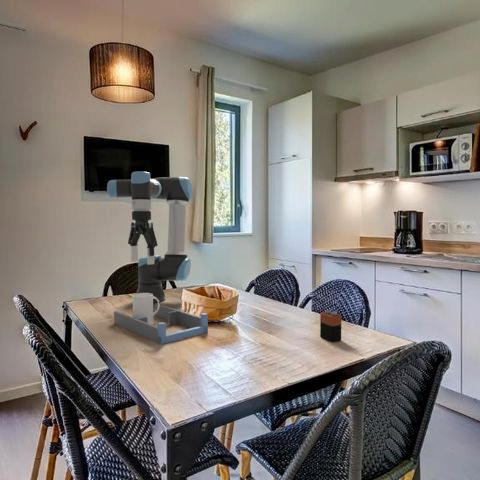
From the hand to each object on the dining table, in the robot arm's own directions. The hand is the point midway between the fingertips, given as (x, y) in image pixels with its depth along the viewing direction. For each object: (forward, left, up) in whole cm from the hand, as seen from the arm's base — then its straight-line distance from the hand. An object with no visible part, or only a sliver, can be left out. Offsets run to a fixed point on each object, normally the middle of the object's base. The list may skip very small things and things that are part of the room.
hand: (142, 262), depth 160 cm
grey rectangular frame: (-1, +9, -25) cm, 27 cm away
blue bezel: (-1, +27, -25) cm, 37 cm away
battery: (-38, +65, -25) cm, 79 cm away
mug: (-1, +1, -25) cm, 25 cm away
